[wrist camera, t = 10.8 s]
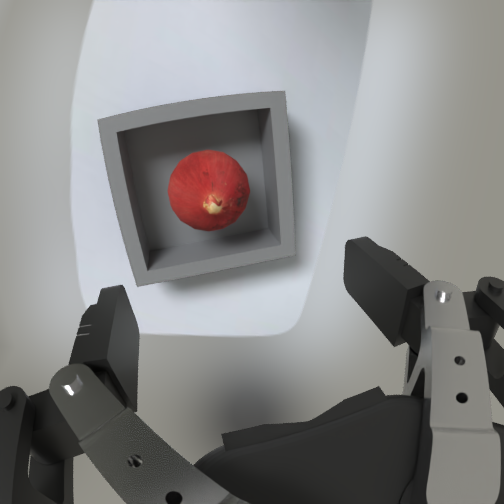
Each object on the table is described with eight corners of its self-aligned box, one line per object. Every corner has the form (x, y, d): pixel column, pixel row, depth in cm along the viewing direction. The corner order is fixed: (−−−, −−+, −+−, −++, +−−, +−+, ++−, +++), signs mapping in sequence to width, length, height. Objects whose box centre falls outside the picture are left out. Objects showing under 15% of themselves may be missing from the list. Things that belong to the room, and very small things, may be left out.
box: (109, 118, 22) (97, 119, 18) (267, 93, 24) (285, 90, 20) (141, 261, 28) (137, 286, 24) (278, 234, 30) (295, 255, 26)
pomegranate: (245, 152, 25) (275, 171, 18) (229, 216, 28) (251, 258, 21) (176, 139, 24) (177, 152, 17) (163, 206, 26) (160, 246, 19)
